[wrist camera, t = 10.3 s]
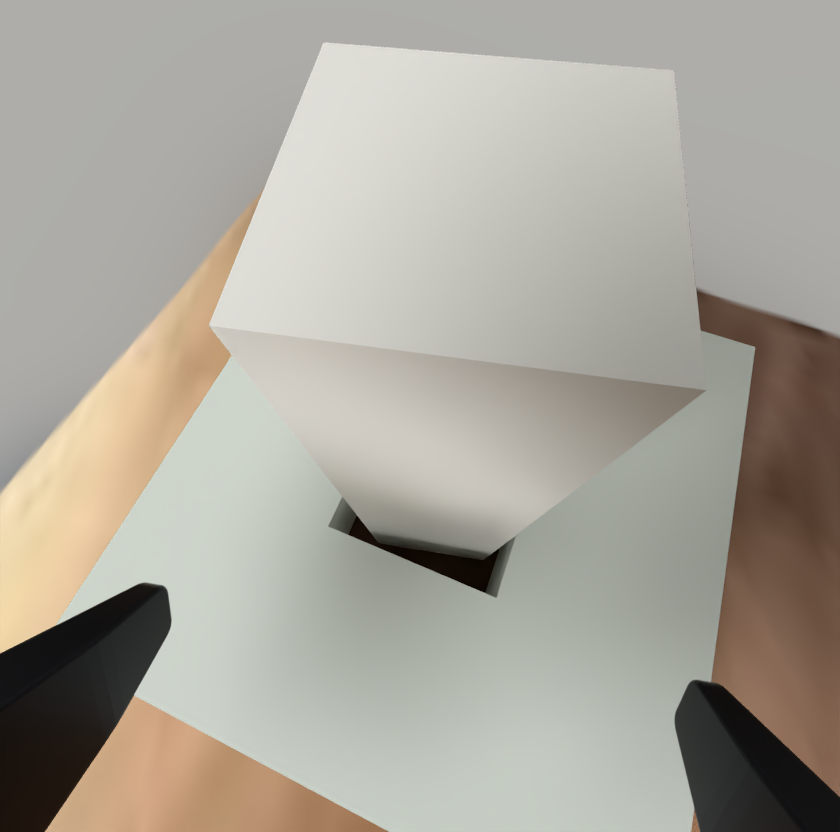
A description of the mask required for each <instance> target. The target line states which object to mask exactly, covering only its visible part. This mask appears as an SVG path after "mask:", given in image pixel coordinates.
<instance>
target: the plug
mask: <svg viewBox="0 0 840 832" xmlns="http://www.w3.org/2000/svg"><path fill="white" fill-rule="evenodd" d="M695 283H696V282H695V272H694V263H693V253H692V243H691V234H690V224H689V214H688V204H687V195H686V186H685V175H684V166H683V156H682V146H681V137H680V127H679V117H678V108H677V98H676V88H675V78H674V71H673V70H663V69H649V68H638V67H624V66H612V65H599V64H588V63H575V62H574V63H573V62H563V61H550V60H537V59H524V58H512V57H499V56H487V55H474V54H462V53H450V52H437V51H423V50H412V49H400V48H386V47H375V46H374V47H373V46H362V45H349V44H337V43H325V42H324V43H323V45H322V48H321V50H320V53H319V55H318V58H317V60H316V63H315V65H314V68H313V70H312V73H311V75H310V77H309V80H308V82H307V85H306V87H305V90H304V92H303V95H302V97H301V100H300V102H299V104H298V107H297V109H296V112H295V114H294V117H293V120H292V122H291V124H290V127H289V129H288V132H287V134H286V137H285V139H284V142H283V144H282V146H281V149H280V151H279V154H278V156H277V159H276V161H275V164H274V166H273V169H272V171H271V173H270V176H269V178H268V181H267V183H266V186H265V188H264V191H263V193H262V196H261V198H260V201H259V203H258V206H257V208H256V210H255V213H254V215H253V218H252V220H251V223H250V225H249V228H248V230H247V233H246V235H245V238H244V240H243V243H242V245H241V247H240V250H239V252H238V255H237V257H236V260H235V262H234V265H233V267H232V270H231V272H230V275H229V277H228V280H227V282H226V284H225V287H224V289H223V292H222V294H221V297H220V299H219V302H218V304H217V307H216V309H215V312H214V314H213V317H212V319H211V321H210V324H209V327H210V328H211V329H212V330H213V332H214V333H215V334H216V336H217V337H218V338H219V339H220V341H221V342H222V343H223V345H224V346H225V347H226V348H227V350H228V351H229V352H230V353H231V355H232V356H233V357H234V359H235V360H236V361H237V362H238V364H239V365H240V366H241V368H242V369H243V370H244V371H245V373H246V374H247V375H248V376H249V378H250V379H251V380H252V382H253V383H254V384H255V385H256V387H257V388H258V389H259V391H260V392H261V393H262V394H263V396H264V397H265V398H266V400H267V401H268V402H269V403H270V405H271V406H272V407H273V408H274V410H275V411H276V412H277V414H278V415H279V416H280V417H281V419H282V420H283V421H284V423H285V424H286V425H287V426H288V428H289V429H290V430H291V431H292V433H293V434H294V435H295V437H296V438H297V439H298V440H299V442H300V443H301V444H302V446H303V447H304V448H305V449H306V451H307V452H308V453H309V454H310V456H311V457H312V458H313V460H314V461H315V462H316V463H317V465H318V466H319V467H320V469H321V470H322V471H323V472H324V474H325V475H326V476H327V478H328V479H329V480H330V481H331V483H332V484H333V485H334V486H335V488H336V489H337V490H338V492H339V493H340V494H341V495H342V497H343V498H344V499H345V501H346V502H347V503H348V504H349V506H350V507H351V508H352V509H353V511H354V512H355V513H356V515H357V516H358V517H359V518H360V520H361V521H362V522H363V524H364V525H365V526H366V527H367V529H368V530H369V531H370V532H371V534H372V535H373V536H374V538H375V539H376V540H377V541H378V543H380V544H386V545H392V546H399V547H405V548H411V549H417V550H423V551H429V552H436V553H442V554H448V555H454V556H460V557H466V558H473V559H479V560H484V559H486V558H487V557H488V556H489V555H491V554H492V553H493V552H495V551H496V550H497V549H499V548H500V547H501V546H503V545H504V544H505V543H507V542H508V541H509V540H511V539H512V538H513V537H514V536H516V535H517V534H518V533H520V532H521V531H522V530H524V529H525V528H526V527H528V526H529V525H530V524H532V523H533V522H534V521H535V520H537V519H538V518H539V517H541V516H542V515H543V514H545V513H546V512H547V511H549V510H550V509H551V508H553V507H554V506H555V505H557V504H558V503H559V502H560V501H562V500H563V499H564V498H566V497H567V496H568V495H570V494H571V493H572V492H574V491H575V490H576V489H578V488H579V487H580V486H581V485H583V484H584V483H585V482H587V481H588V480H589V479H591V478H592V477H593V476H595V475H596V474H597V473H599V472H600V471H601V470H603V469H604V468H605V467H606V466H608V465H609V464H610V463H612V462H613V461H614V460H616V459H617V458H618V457H620V456H621V455H622V454H624V453H625V452H626V451H628V450H629V449H630V448H631V447H633V446H634V445H635V444H637V443H638V442H639V441H641V440H642V439H643V438H645V437H646V436H647V435H649V434H650V433H651V432H652V431H654V430H655V429H656V428H658V427H659V426H660V425H662V424H663V423H664V422H666V421H667V420H668V419H670V418H671V417H672V416H674V415H675V414H676V413H677V412H679V411H680V410H681V409H683V408H684V407H685V406H687V405H688V404H689V403H691V402H692V401H693V400H695V399H696V398H697V397H699V396H700V395H701V394H702V393H704V392H705V391H706V390H707V389H706V379H705V369H704V360H703V350H702V340H701V331H700V321H699V311H698V301H697V292H696V284H695Z"/></svg>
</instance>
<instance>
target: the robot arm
mask: <svg viewBox="0 0 840 832" xmlns="http://www.w3.org/2000/svg"><path fill="white" fill-rule="evenodd" d="M171 622H172V617H171V610H170V603H169V595H168V590H167V589H166V587H165V586H163V585H159V584H153V583H147V582H144V583H139V584H137V585H135V586H133V587H131V588H129V589H127V590H125V591H123V592H121V593H119V594H117V595H115V596H113V597H111V598H109V599H107V600H105V601H103V602H101V603H99V604H97V605H95V606H93V607H91V608H89V609H87V610H85V611H83V612H81V613H79V614H77V615H76V616H74V617H72V618H70V619H68V620H66V621H64V622H62V623H60V624H58V625H56V626H54V627H52V628H50V629H48V630H46V631H44V632H42V633H40V634H38V635H36V636H34V637H32V638H30V639H28V640H26V641H24V642H22V643H20V644H18V645H16V646H14V647H12V648H10V649H8V650H6V651H4V652H2V653H0V832H45V831H46V829H47V828H48V826H49V825H50V823H51V822H52V820H53V819H54V817H55V816H56V814H57V813H58V812H59V810H60V809H61V807H62V806H63V804H64V803H65V801H66V800H67V798H68V797H69V795H70V794H71V792H72V791H73V789H74V788H75V786H76V785H77V784H78V782H79V781H80V779H81V778H82V776H83V775H84V773H85V772H86V770H87V769H88V767H89V766H90V764H91V763H92V761H93V760H94V758H95V757H96V756H97V754H98V753H99V751H100V750H101V748H102V747H103V745H104V744H105V742H106V741H107V739H108V738H109V736H110V735H111V733H112V732H113V730H114V728H115V727H116V725H117V724H118V722H119V720H120V719H121V717H122V715H123V714H124V712H125V710H126V709H127V707H128V705H129V703H130V701H131V700H132V698H133V696H134V694H135V692H136V691H137V689H138V687H139V685H140V684H141V682H142V680H143V678H144V676H145V675H146V673H147V671H148V669H149V668H150V666H151V664H152V662H153V660H154V659H155V657H156V655H157V653H158V651H159V650H160V648H161V646H162V644H163V643H164V641H165V639H166V637H167V635H168V633H169V631H170V628H171ZM674 723H675V730H676V734H677V738H678V742H679V747H680V751H681V755H682V759H683V763H684V767H685V772H686V776H687V780H688V784H689V788H690V792H691V797H692V801H693V805H694V809H695V813H696V817H697V821H698V825H699V829H700V832H840V797H839V796H838V795H837V794H836V793H835V792H834V791H833V790H832V789H831V788H830V787H829V786H827V785H826V784H825V783H824V782H823V781H822V780H821V779H820V778H819V777H818V776H817V775H816V774H815V773H814V772H813V771H812V770H811V769H810V768H809V767H807V766H806V765H805V764H804V763H803V762H802V761H801V760H800V759H799V758H798V757H797V756H796V755H795V754H794V753H793V752H792V751H791V750H790V749H789V748H787V747H786V746H785V745H784V744H783V743H782V742H781V741H780V740H779V739H778V738H777V737H776V736H775V735H774V734H773V733H772V732H771V731H770V730H769V729H768V728H766V727H765V726H764V725H763V724H762V723H761V722H760V721H759V720H758V719H757V718H756V717H755V716H754V715H753V714H752V713H751V712H750V711H749V710H748V709H746V708H745V707H744V706H743V705H742V704H741V703H740V702H739V701H738V700H737V699H736V698H735V697H734V696H733V695H732V694H731V693H730V692H729V691H728V690H726V689H725V688H724V687H723V686H721V685H720V684H717V683H714V682H708V681H702V680H692V681H691V682H689V684H688V686H687V688H686V690H685V692H684V694H683V696H682V699H681V701H680V703H679V705H678V707H677V709H676V712H675V718H674Z"/></svg>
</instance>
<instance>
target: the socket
mask: <svg viewBox="0 0 840 832" xmlns="http://www.w3.org/2000/svg"><path fill="white" fill-rule="evenodd" d="M700 331H701V330H700ZM701 340H702V350H703V360H704V369H705V379H706V389H707V390H706V391H705V392H704V393H702V394H701V395H700V396H699V397H697V398H696V399H695V400H693V401H692V402H691V403H689V404H688V405H687V406H685V407H684V408H683V409H681V410H680V411H679V412H677V413H676V414H675V415H674V416H672V417H671V418H670V419H668V420H667V421H666V422H664V423H663V424H662V425H660V426H659V427H658V428H656V429H655V430H654V431H652V432H651V433H650V434H649V435H647V436H646V437H645V438H643V439H642V440H641V441H639V442H638V443H637V444H635V445H634V446H633V447H631V448H630V449H629V450H628V451H626V452H625V453H624V454H622V455H621V456H620V457H618V458H617V459H616V460H614V461H613V462H612V463H610V464H609V465H608V466H606V467H605V468H604V469H603V470H601V471H600V472H599V473H597V474H596V475H595V476H593V477H592V478H591V479H589V480H588V481H587V482H585V483H584V484H583V485H581V486H580V487H579V488H578V489H576V490H575V491H574V492H572V493H571V494H570V495H568V496H567V497H566V498H564V499H563V500H562V501H560V502H559V503H558V504H557V505H555V506H554V507H553V508H551V509H550V510H549V511H547V512H546V513H545V514H543V515H542V516H541V517H539V518H538V519H537V520H535V521H534V522H533V523H532V524H530V525H529V526H528V527H526V528H525V529H524V530H522V531H521V532H520V533H518V534H517V535H516V536H514V537H513V538H512V539H511V540H509V541H508V542H507V543H505V544H504V545H503V546H501V547H500V549H499V552H498V555H497V558H496V561H495V564H494V567H493V570H492V574H491V577H490V580H489V583H488V586H487V589H486V592H485V593H484V592H481V591H479V590H476V589H474V588H472V587H469V586H467V585H465V584H462V583H460V582H458V581H455V580H453V579H451V578H448V577H446V576H444V575H441V574H439V573H436V572H434V571H432V570H429V569H427V568H425V567H422V566H420V565H418V564H415V563H413V562H411V561H408V560H406V559H404V558H401V557H399V556H397V555H394V554H392V553H389V552H387V551H385V550H382V549H380V548H378V547H375V546H373V545H371V544H368V543H366V542H364V541H361V540H359V539H357V538H354V537H352V536H350V535H348V534H349V532H350V530H351V528H352V526H353V523H354V521H355V519H356V517H357V515H356V513H355V512H354V511H353V509H352V508H351V507H350V506H349V504H348V503H347V502H346V501H345V499H344V498H343V497H342V495H341V494H340V493H339V492H338V490H337V489H336V488H335V486H334V485H333V484H332V483H331V481H330V480H329V479H328V478H327V476H326V475H325V474H324V472H323V471H322V470H321V469H320V467H319V466H318V465H317V463H316V462H315V461H314V460H313V458H312V457H311V456H310V454H309V453H308V452H307V451H306V449H305V448H304V447H303V446H302V444H301V443H300V442H299V440H298V439H297V438H296V437H295V435H294V434H293V433H292V431H291V430H290V429H289V428H288V426H287V425H286V424H285V423H284V421H283V420H282V419H281V417H280V416H279V415H278V414H277V412H276V411H275V410H274V408H273V407H272V406H271V405H270V403H269V402H268V401H267V400H266V398H265V397H264V396H263V394H262V393H261V392H260V391H259V389H258V388H257V387H256V385H255V384H254V383H253V382H252V380H251V379H250V378H249V376H248V375H247V374H246V373H245V371H244V370H243V369H242V368H241V366H240V365H239V364H238V362H237V361H236V360H235V359H234V357H233V356H231V358H230V359H229V361H228V362H227V364H226V365H225V367H224V368H223V370H222V371H221V373H220V374H219V376H218V378H217V379H216V381H215V382H214V384H213V385H212V387H211V388H210V390H209V391H208V393H207V394H206V396H205V397H204V399H203V401H202V402H201V404H200V405H199V407H198V408H197V410H196V411H195V413H194V414H193V416H192V417H191V419H190V420H189V422H188V424H187V425H186V427H185V428H184V430H183V431H182V433H181V434H180V436H179V437H178V439H177V440H176V442H175V443H174V445H173V446H172V448H171V450H170V451H169V453H168V454H167V456H166V457H165V459H164V460H163V462H162V463H161V465H160V466H159V468H158V469H157V471H156V473H155V474H154V476H153V477H152V479H151V480H150V482H149V483H148V485H147V486H146V488H145V489H144V491H143V492H142V494H141V496H140V497H139V499H138V500H137V502H136V503H135V505H134V506H133V508H132V509H131V511H130V512H129V514H128V515H127V517H126V518H125V520H124V522H123V523H122V525H121V526H120V528H119V529H118V531H117V532H116V534H115V535H114V537H113V538H112V540H111V541H110V543H109V545H108V546H107V548H106V549H105V551H104V552H103V554H102V555H101V557H100V558H99V560H98V561H97V563H96V564H95V566H94V567H93V569H92V571H91V572H90V574H89V575H88V577H87V578H86V580H85V581H84V583H83V584H82V586H81V587H80V589H79V590H78V592H77V594H76V595H75V597H74V598H73V600H72V601H71V603H70V604H69V606H68V607H67V609H66V610H65V612H64V613H63V615H62V617H61V618H60V620H59V621H58V623H57V624H56V625H58V624H60V623H62V622H64V621H66V620H68V619H70V618H72V617H74V616H76V615H77V614H79V613H81V612H83V611H85V610H87V609H89V608H91V607H93V606H95V605H97V604H99V603H101V602H103V601H105V600H107V599H109V598H111V597H113V596H115V595H117V594H119V593H121V592H123V591H125V590H127V589H129V588H131V587H133V586H135V585H137V584H139V583H144V582H147V583H153V584H159V585H163V586H165V587H166V589H167V590H168V595H169V603H170V610H171V617H172V622H171V628H170V631H169V633H168V635H167V637H166V639H165V641H164V643H163V644H162V646H161V648H160V650H159V651H158V653H157V655H156V657H155V659H154V660H153V662H152V664H151V666H150V668H149V669H148V671H147V673H146V675H145V676H144V678H143V680H142V682H141V684H140V685H139V687H138V689H137V691H136V692H135V694H134V696H136V697H138V698H140V699H142V700H143V701H145V702H147V703H149V704H151V705H153V706H155V707H157V708H158V709H160V710H162V711H164V712H166V713H168V714H170V715H172V716H173V717H175V718H177V719H179V720H181V721H183V722H185V723H187V724H188V725H190V726H192V727H194V728H196V729H198V730H200V731H202V732H203V733H205V734H207V735H209V736H211V737H213V738H215V739H217V740H218V741H220V742H222V743H224V744H226V745H228V746H230V747H232V748H233V749H235V750H237V751H239V752H241V753H243V754H245V755H247V756H248V757H250V758H252V759H254V760H256V761H258V762H260V763H261V764H263V765H265V766H267V767H269V768H271V769H273V770H275V771H276V772H278V773H280V774H282V775H284V776H286V777H288V778H290V779H291V780H293V781H295V782H297V783H299V784H301V785H303V786H305V787H306V788H308V789H310V790H312V791H314V792H316V793H318V794H320V795H321V796H323V797H325V798H327V799H329V800H331V801H333V802H335V803H336V804H338V805H340V806H342V807H344V808H346V809H348V810H350V811H351V812H353V813H355V814H357V815H359V816H361V817H363V818H365V819H366V820H368V821H370V822H372V823H374V824H376V825H378V826H380V827H381V828H383V829H385V830H387V831H389V832H691V828H692V821H693V813H694V805H693V801H692V797H691V792H690V788H689V784H688V780H687V776H686V772H685V767H684V763H683V759H682V755H681V751H680V747H679V742H678V738H677V734H676V730H675V723H674V718H675V712H676V709H677V707H678V705H679V703H680V701H681V699H682V696H683V694H684V692H685V690H686V688H687V686H688V684H689V682H691V681H692V680H702V681H708V682H711V677H712V670H713V662H714V655H715V647H716V640H717V632H718V625H719V617H720V610H721V602H722V595H723V587H724V579H725V572H726V564H727V557H728V549H729V542H730V534H731V527H732V519H733V512H734V504H735V496H736V489H737V481H738V474H739V466H740V459H741V451H742V444H743V436H744V429H745V421H746V414H747V406H748V398H749V391H750V383H751V376H752V368H753V361H754V353H755V347H753V346H750V345H747V344H743V343H740V342H737V341H734V340H730V339H727V338H724V337H720V336H717V335H714V334H710V333H707V332H704V331H701Z"/></svg>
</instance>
